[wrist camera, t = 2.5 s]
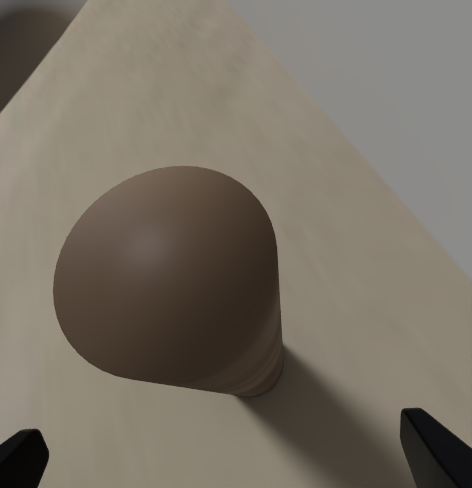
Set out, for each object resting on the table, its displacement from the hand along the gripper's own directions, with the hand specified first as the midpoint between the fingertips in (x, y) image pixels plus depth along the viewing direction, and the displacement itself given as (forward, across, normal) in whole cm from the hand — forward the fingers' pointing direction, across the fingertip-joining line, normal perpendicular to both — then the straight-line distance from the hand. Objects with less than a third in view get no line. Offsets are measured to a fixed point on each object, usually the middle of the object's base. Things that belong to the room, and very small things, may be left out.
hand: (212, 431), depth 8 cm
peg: (+10, 0, +6) cm, 11 cm away
